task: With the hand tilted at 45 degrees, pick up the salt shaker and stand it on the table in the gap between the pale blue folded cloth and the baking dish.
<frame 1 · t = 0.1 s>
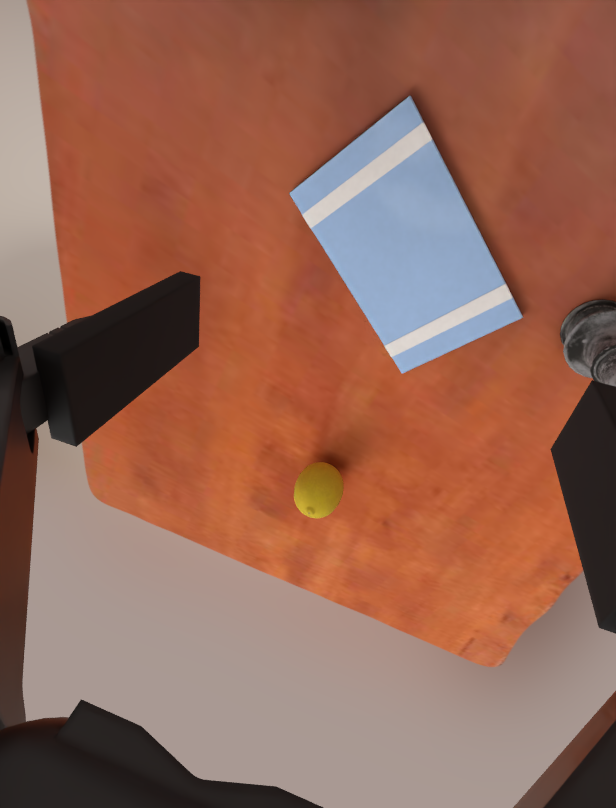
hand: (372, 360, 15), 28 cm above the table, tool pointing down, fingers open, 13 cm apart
cloth: (406, 253, 40), on the table
salt shaker: (594, 328, 39), on the table
lemon: (328, 466, 55), on the table
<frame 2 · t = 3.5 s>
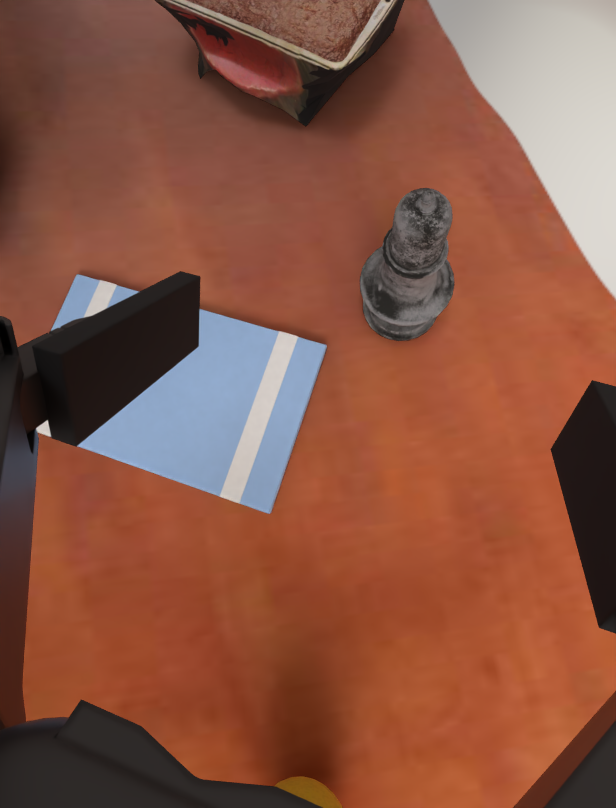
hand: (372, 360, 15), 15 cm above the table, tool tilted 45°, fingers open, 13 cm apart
cloth: (168, 386, 32), on the table
baking dish: (296, 56, 37), on the table
salt shaker: (400, 306, 32), on the table
lemon: (306, 799, 26), on the table
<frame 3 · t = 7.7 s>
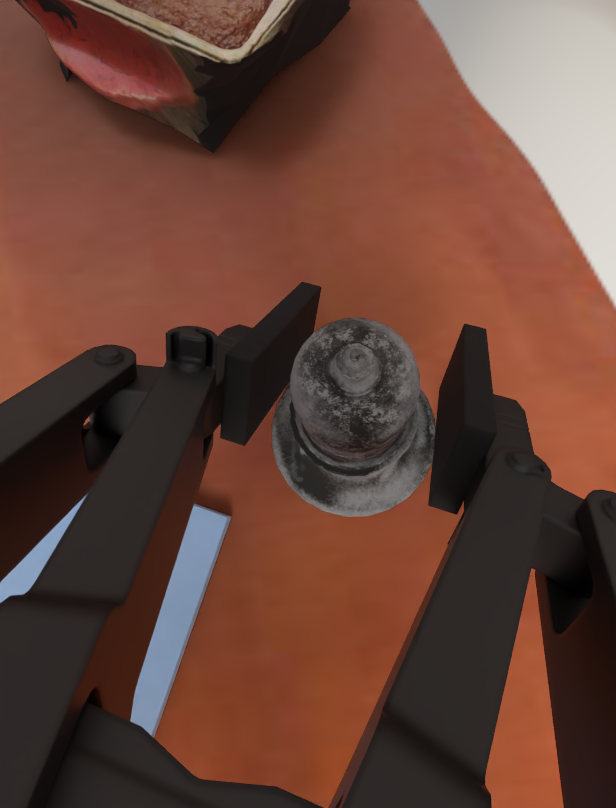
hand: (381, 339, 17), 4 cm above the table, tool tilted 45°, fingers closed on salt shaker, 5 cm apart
baking dish: (207, 49, 25), on the table
salt shaker: (352, 446, 20), on the table, touching gripper
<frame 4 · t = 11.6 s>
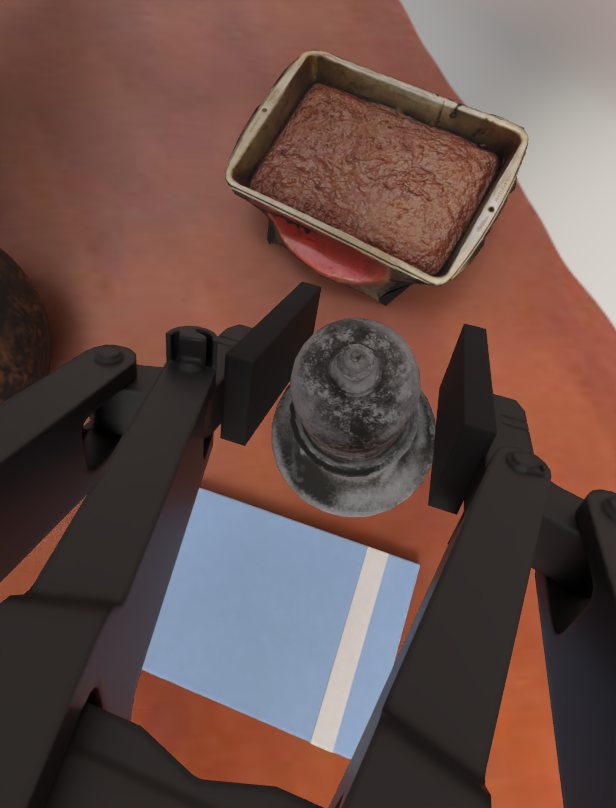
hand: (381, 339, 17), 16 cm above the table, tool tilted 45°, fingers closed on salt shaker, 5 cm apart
cloth: (247, 601, 30), on the table
baking dish: (370, 221, 35), on the table
salt shaker: (352, 446, 20), point 12 cm above the table, touching gripper
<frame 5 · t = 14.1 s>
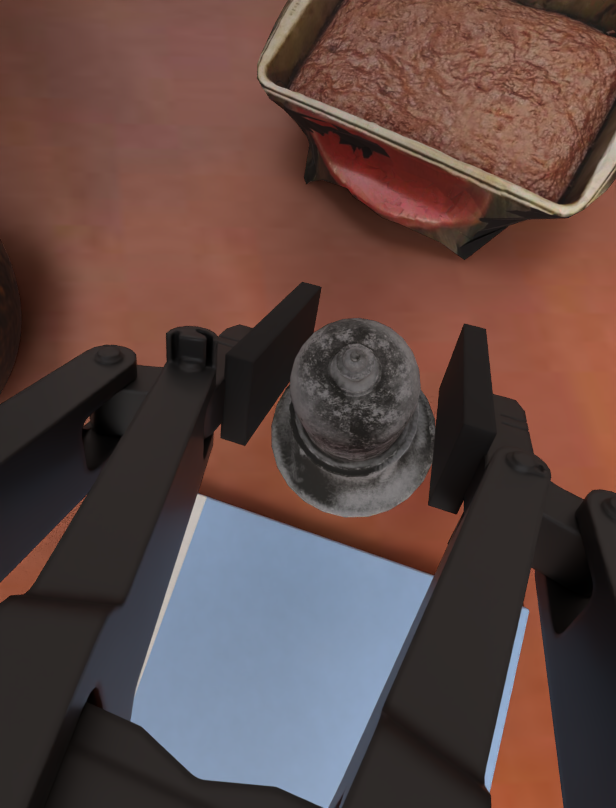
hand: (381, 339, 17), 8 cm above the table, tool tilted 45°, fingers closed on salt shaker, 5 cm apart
cloth: (288, 658, 22), on the table
baking dish: (437, 154, 27), on the table
salt shaker: (351, 446, 20), point 4 cm above the table, touching gripper
when the fingers open (3 cm above the table, at t = 15.7 s): salt shaker stays where it is, on the table.
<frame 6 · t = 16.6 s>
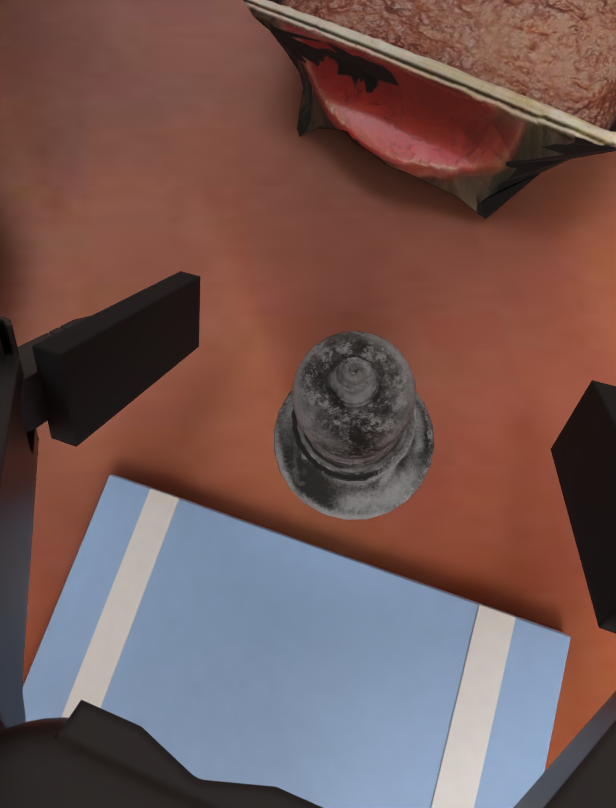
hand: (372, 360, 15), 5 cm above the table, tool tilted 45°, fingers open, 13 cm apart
cloth: (276, 695, 18), on the table
baking dish: (451, 101, 24), on the table
salt shaker: (352, 450, 20), on the table
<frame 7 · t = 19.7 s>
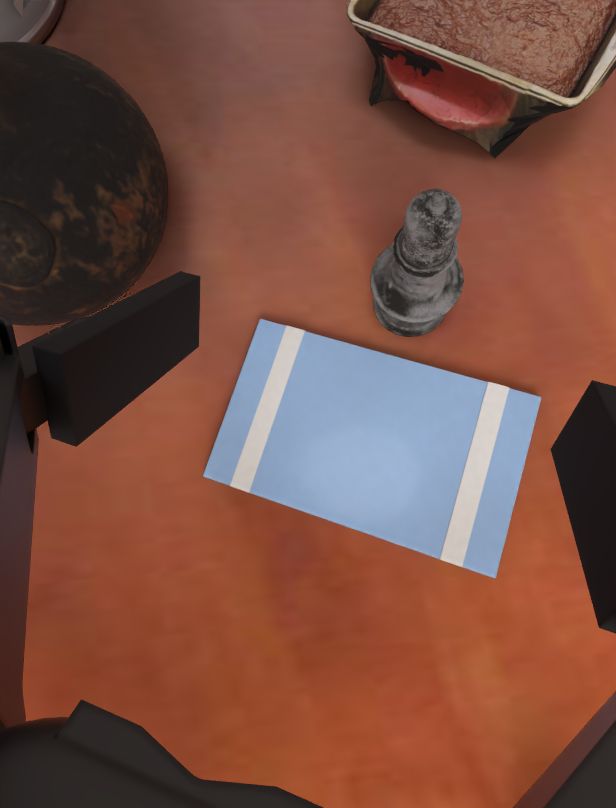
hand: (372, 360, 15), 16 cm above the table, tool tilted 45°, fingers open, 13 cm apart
cloth: (367, 438, 31), on the table
glass bottle: (91, 244, 36), on the table
baking dish: (473, 81, 35), on the table
salt shaker: (409, 303, 32), on the table
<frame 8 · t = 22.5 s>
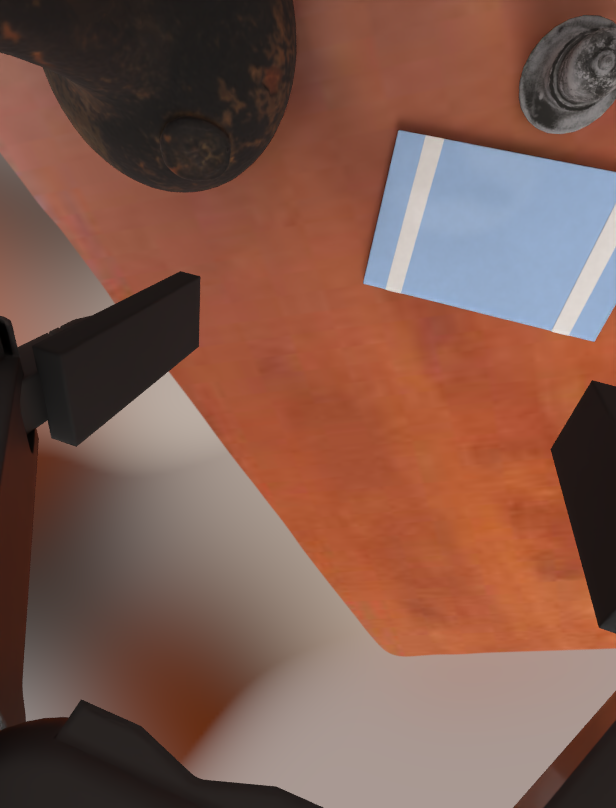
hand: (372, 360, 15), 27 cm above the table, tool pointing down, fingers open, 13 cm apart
cloth: (500, 239, 36), on the table
glass bottle: (212, 56, 35), on the table
salt shaker: (561, 83, 30), on the table
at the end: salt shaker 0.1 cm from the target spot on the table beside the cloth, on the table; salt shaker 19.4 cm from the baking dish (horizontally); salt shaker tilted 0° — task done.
